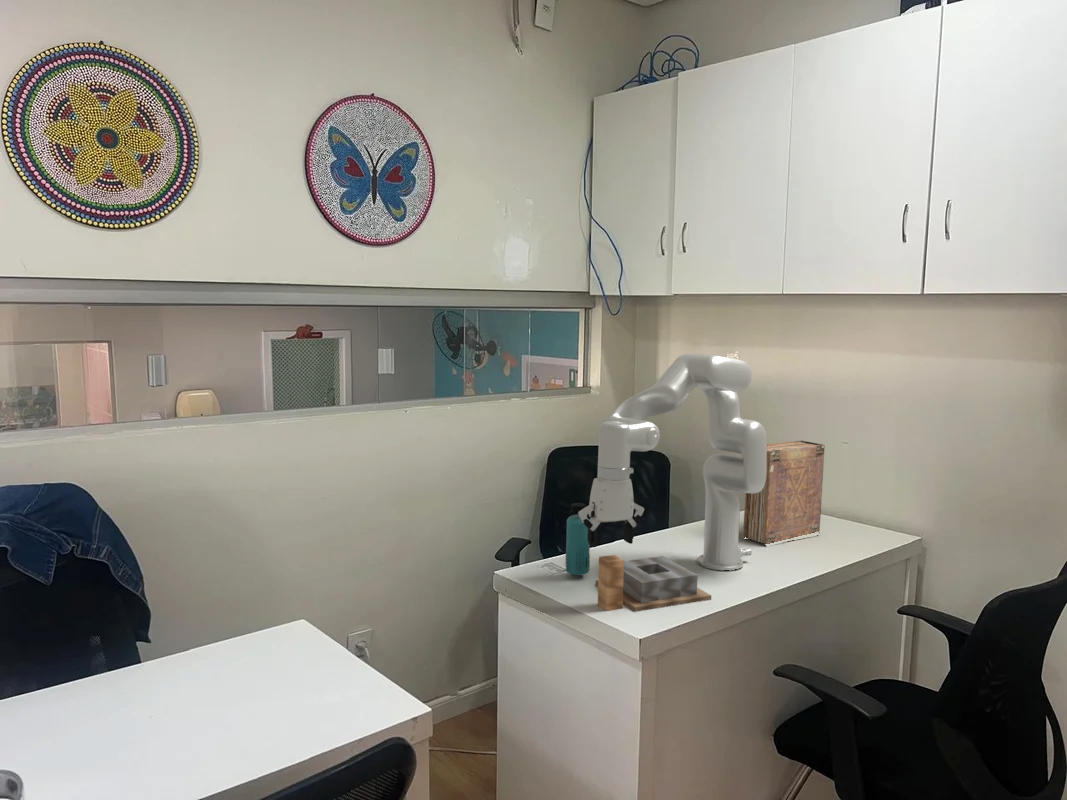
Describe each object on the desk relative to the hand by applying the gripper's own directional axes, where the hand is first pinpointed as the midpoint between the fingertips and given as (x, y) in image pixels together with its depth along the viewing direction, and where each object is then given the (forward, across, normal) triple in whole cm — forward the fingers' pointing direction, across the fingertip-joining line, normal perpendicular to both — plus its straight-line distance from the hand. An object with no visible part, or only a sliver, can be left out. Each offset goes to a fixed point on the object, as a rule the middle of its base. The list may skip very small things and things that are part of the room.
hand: (610, 543), depth 187 cm
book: (+14, -81, -32) cm, 88 cm away
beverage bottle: (+16, -3, -22) cm, 27 cm away
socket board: (+15, -16, -5) cm, 23 cm away
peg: (+16, -1, 0) cm, 16 cm away
